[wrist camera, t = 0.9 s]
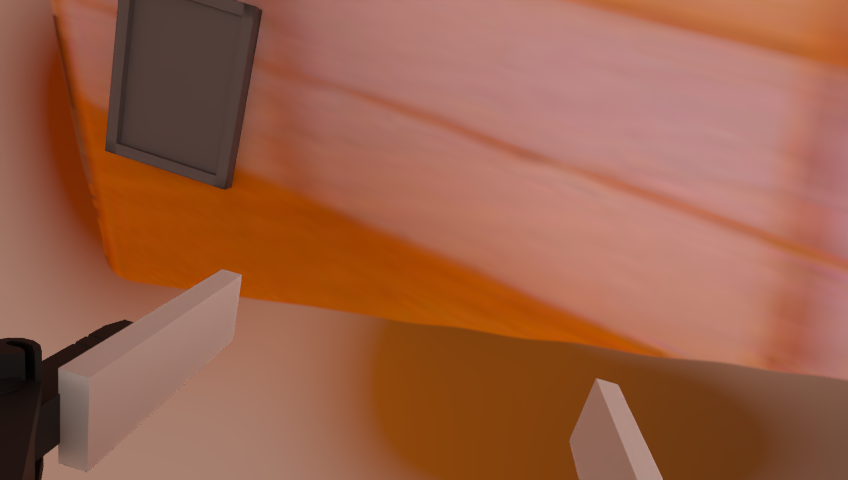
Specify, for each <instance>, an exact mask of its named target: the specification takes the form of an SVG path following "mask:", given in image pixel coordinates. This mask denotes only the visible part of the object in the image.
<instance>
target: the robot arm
mask: <svg viewBox="0 0 848 480" xmlns="http://www.w3.org/2000/svg"><path fill="white" fill-rule="evenodd" d="M241 279H242V275H241V274H238V273H234V272H231V271H227V270H224V269H222V270H220V271H218V272H217V273H215V274H213V275H212V276H210V277H208V278H207V279H205V280H203V281H202V282H200V283H198V284H197V285H195V286H194V287H192V288H190V289H189V290H187V291H185V292H184V293H182V294H180V295H179V296H177V297H175V298H174V299H172V300H171V301H169V302H167V303H165V304H164V305H162V306H160V307H159V308H157V309H156V310H154V311H152V312H151V313H149V314H147V315H146V316H144V317H142V318H141V319H139V320H137V321H136V322H130V321H127V320H123V321H119V322H116V323H112V324H109V325H105V326H103V327H102V328H100V329H98V330H96V331H94V332H93V333H91V334H89V336H88V337H84V338H82V339H80V340H79V341H77V342H76V343H75V344H72V345H70V346H68V347H66V348H65V349H63V350H61V351H59V352H57V353H56V354H54V355H52V356H50V357H49V358H47V359H45V360H43V361H42V350H41V346H40V345H39V344H38V343H37V342H35V341H33V340H29V339H25V338H5V339H0V480H41V478H42V472H43V456H44V455H45V454H46V453H48V452H49V451H50V450H51V449H53V448H54V447H55V446H57V445H58V447H59V453H58V454H59V463H60V464H63V465H66V466H69V467H73V468H75V469H79V470H82V471H85V472H88V471H89V470H91V469H92V468H93V467H94V466H95V465H96V464H97V463H98V462H99V461H100V460H102V459H103V458H104V457H105V456H106V455H107V454H108V453H109V452H110V451H111V450H113V449H114V448H115V447H116V446H117V445H118V444H119V443H120V442H121V441H122V440H123V439H124V438H126V437H127V436H128V435H129V434H130V433H131V432H132V431H133V430H135V429H136V428H137V427H138V426H139V425H140V424H141V423H142V422H143V421H144V420H146V419H147V418H148V417H149V416H150V415H151V414H152V413H153V412H154V411H155V410H156V409H158V408H159V407H160V406H161V405H162V404H163V403H164V402H165V401H166V400H167V399H169V398H170V397H171V396H172V395H173V394H174V393H175V392H176V391H177V390H179V389H180V388H181V387H182V386H183V385H184V384H185V383H186V382H187V381H188V380H190V379H191V378H192V377H193V376H194V375H195V374H196V373H197V372H198V371H199V370H201V368H203V367H204V366H205V365H206V364H207V363H208V362H209V361H210V360H212V359H213V358H214V357H215V356H216V355H217V354H218V353H219V352H220V351H221V350H222V349H224V347H226V346H227V345H228V344H229V343H230V342H231V341H232V340H233V339H234V331H235V323H236V316H237V309H238V301H239V294H240V287H241ZM570 445H571V449H572V453H573V457H574V461H575V465H576V469H577V473H578V477H579V480H663V479H662V476H661V475H660V472H659V471H658V468H657V466H656V464H655V462H654V460H653V458H652V455H651V453H650V451H649V449H648V447H647V445H646V443H645V441H644V439H643V436H642V434H641V432H640V430H639V428H638V426H637V424H636V422H635V420H634V418H633V415H632V413H631V411H630V409H629V407H628V405H627V403H626V401H625V398H624V396H623V394H622V392H621V390H620V388H619V386H618V385H617V384H614V383H611V382H607V381H604V380H601V379H596V380H595V382H594V385H593V387H592V389H591V392H590V394H589V396H588V399H587V401H586V403H585V406H584V408H583V410H582V413H581V415H580V417H579V420H578V422H577V424H576V427H575V429H574V431H573V434H572V436H571V438H570Z"/></svg>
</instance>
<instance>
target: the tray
mask: <svg viewBox="0 0 848 480" xmlns="http://www.w3.org/2000/svg"><path fill="white" fill-rule="evenodd" d="M261 14H262V10H261V9H259V8H257V7H254V6H251V5H248V4H245V3H242V2H238V1H235V0H118V11H117V22H116V34H115V45H114V56H113V67H112V79H111V90H110V101H109V113H108V124H107V135H106V147H105V151H108V152H111V153H114V154H117V155H120V156H123V157H126V158H130V159H133V160H136V161H139V162H142V163H145V164H148V165H151V166H154V167H157V168H160V169H163V170H166V171H169V172H172V173H176V174H179V175H182V176H185V177H188V178H191V179H194V180H197V181H200V182H203V183H206V184H209V185H212V186H215V187H218V188H221V189H228V188H231V186H232V180H233V175H234V169H235V163H236V157H237V152H238V146H239V140H240V134H241V129H242V123H243V117H244V111H245V106H246V100H247V94H248V88H249V83H250V77H251V71H252V65H253V60H254V54H255V48H256V43H257V37H258V31H259V25H260V20H261Z"/></svg>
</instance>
